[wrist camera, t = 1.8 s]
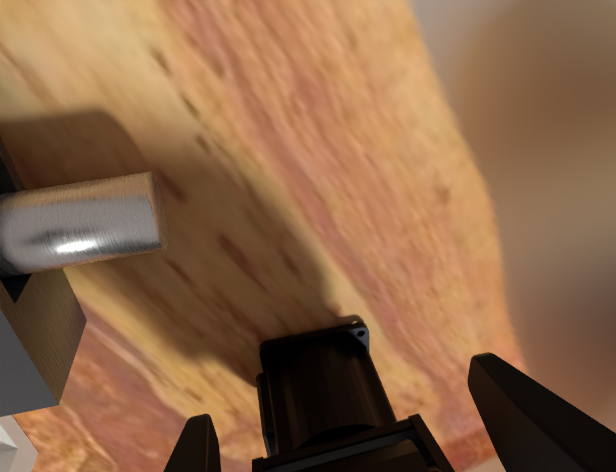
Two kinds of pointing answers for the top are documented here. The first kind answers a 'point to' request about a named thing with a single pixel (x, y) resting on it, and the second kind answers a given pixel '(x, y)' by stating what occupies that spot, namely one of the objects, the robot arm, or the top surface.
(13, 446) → the cradle
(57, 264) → the axle
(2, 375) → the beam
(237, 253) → the top surface
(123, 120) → the top surface
